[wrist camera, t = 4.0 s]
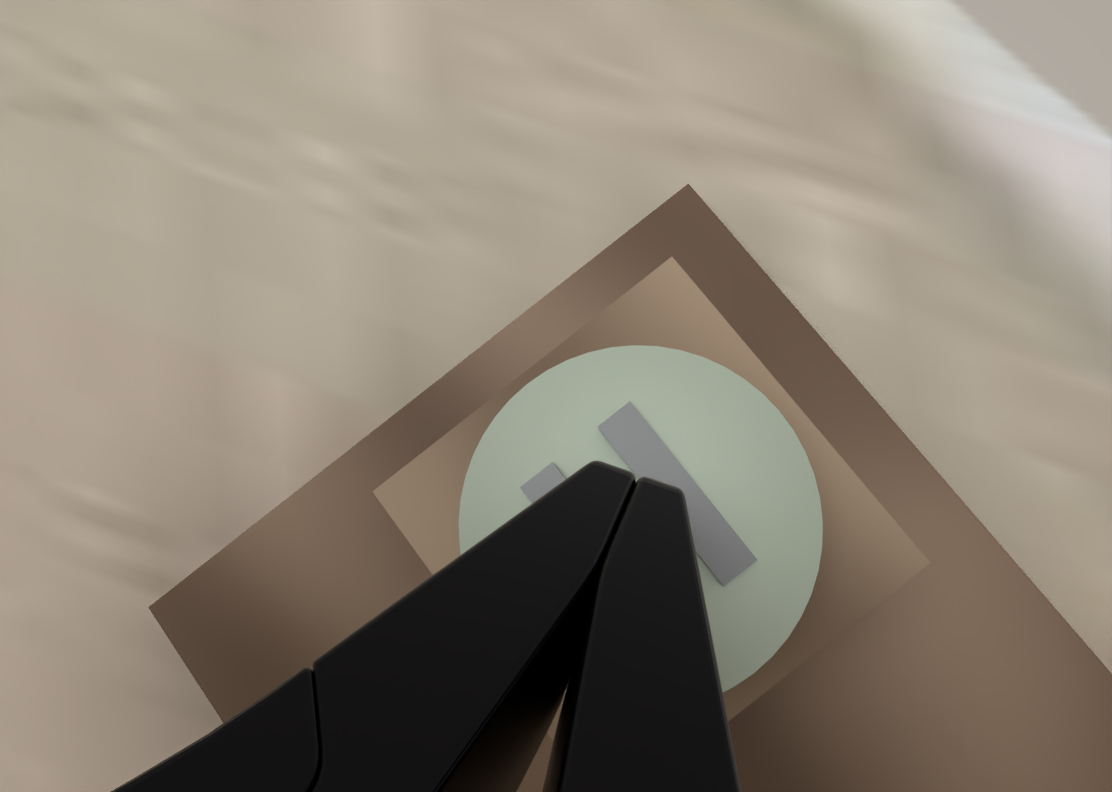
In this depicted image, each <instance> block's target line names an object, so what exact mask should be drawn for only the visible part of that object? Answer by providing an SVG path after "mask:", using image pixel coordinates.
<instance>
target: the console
mask: <svg viewBox="0 0 1112 792" xmlns="http://www.w3.org/2000/svg"><path fill="white" fill-rule="evenodd" d="M631 345H642V346H660V347H666V348H672V349H678V350H682V351H686V352H689V353H692V354H695V355H699V356H702V357H704V358H707V359H709V360H711V361H713V362H716V363H718V364H720V365H722V366H724V367H726V368H728V369H729V370H731V371H733V372H734V373H736V374H737V375H739V376H741V377H742V378H744V379H745V380H747V381H748V382H749V383H750V384H752V385H753V386H754V387H755V388H756V389H758V390H759V391H760V392H761V393H763V394H764V395H765V396H766V397H767V398H768V400H769V401H770V402H771V403H772V404H773V405H774V406H775V407H776V408H777V409H778V410H779V411H780V412H781V414H782V415H783V416H784V418H785V419H786V421H787V422H788V423H789V425H790V426H791V427H792V429H793V430H794V432H795V434H796V435H797V437H798V439H799V441H800V443H801V444H802V446H803V448H804V450H805V452H806V454H807V457H808V459H809V462H810V465H811V467H812V470H813V472H814V475H815V479H816V483H817V487H818V491H819V495H820V501H821V510H822V519H823V537H822V552H821V558H820V564H819V571H818V574H817V578H816V581H815V584H814V588H813V591H812V594H811V597H810V599H809V601H808V603H807V605H806V608H805V610H804V612H803V614H802V616H801V618H800V620H799V621H798V623H797V625H796V626H795V628H794V629H793V631H792V632H791V634H790V636H789V637H788V639H787V640H786V641H785V642H784V643H783V645H782V646H781V647H780V648H779V649H778V650H777V652H776V653H775V654H774V655H773V656H772V657H771V658H770V659H769V660H768V661H767V662H766V663H765V664H764V665H763V666H761V667H760V668H759V669H758V670H757V671H756V672H755V673H754V674H752V675H751V676H749V677H748V678H746V679H745V680H743V681H742V682H740V683H739V684H737V685H736V686H734V687H733V688H731V689H729V690H727V691H725V692H723V697H724V702H725V707H726V712H727V718H728V723H729V728H730V733H731V739H732V744H733V749H734V754H735V760H736V765H737V770H738V775H739V781H740V786H741V791H742V792H1112V674H1111V672H1110V671H1109V670H1108V669H1107V668H1106V667H1105V666H1104V664H1103V663H1102V662H1101V661H1100V660H1099V659H1098V657H1097V656H1096V655H1095V654H1094V653H1093V652H1092V650H1091V649H1090V648H1089V647H1088V646H1087V645H1086V644H1085V642H1084V641H1083V640H1082V639H1081V638H1080V637H1079V635H1078V634H1077V633H1076V632H1075V631H1074V630H1073V628H1072V627H1071V626H1070V625H1069V624H1068V623H1067V622H1066V620H1065V619H1064V618H1063V617H1062V616H1061V615H1060V613H1059V612H1058V611H1057V610H1056V609H1055V608H1054V606H1053V605H1052V604H1051V603H1050V602H1049V601H1048V600H1047V598H1046V597H1045V596H1044V595H1043V594H1042V593H1041V591H1040V590H1039V589H1038V588H1037V587H1036V586H1035V584H1034V583H1033V582H1032V581H1031V580H1030V579H1029V578H1028V576H1027V575H1026V574H1025V573H1024V572H1023V571H1022V569H1021V568H1020V567H1019V566H1018V565H1017V564H1016V562H1015V561H1014V560H1013V559H1012V558H1011V557H1010V556H1009V554H1008V553H1007V552H1006V551H1005V550H1004V549H1003V547H1002V546H1001V545H1000V544H999V543H998V542H997V540H996V539H995V538H994V537H993V536H992V535H991V534H990V532H989V531H988V530H987V529H986V528H985V527H984V525H983V524H982V523H981V522H980V521H979V520H978V518H977V517H976V516H975V515H974V514H973V513H972V512H971V510H970V509H969V508H968V507H967V506H966V505H965V503H964V502H963V501H962V500H961V499H960V498H959V496H958V495H957V494H956V493H955V492H954V491H953V490H952V488H951V487H950V486H949V485H948V484H947V483H946V481H945V480H944V479H943V478H942V477H941V476H940V474H939V473H938V472H937V471H936V470H935V469H934V468H933V466H932V465H931V464H930V463H929V462H928V461H927V459H926V458H925V457H924V456H923V455H922V454H921V452H920V451H919V450H918V449H917V448H916V447H915V446H914V444H913V443H912V442H911V441H910V440H909V439H908V437H907V436H906V435H905V434H904V433H903V432H902V430H901V429H900V428H899V427H898V426H897V425H896V424H895V422H894V421H893V420H892V419H891V418H890V417H889V415H888V414H887V413H886V412H885V411H884V410H883V408H882V407H881V406H880V405H879V404H878V403H877V402H876V400H875V399H874V398H873V397H872V396H871V395H870V393H869V392H868V391H867V390H866V389H865V388H864V386H863V385H862V384H861V383H860V382H859V381H858V380H857V378H856V377H855V376H854V375H853V374H852V373H851V371H850V370H849V369H848V368H847V367H846V366H845V364H844V363H843V362H842V361H841V360H840V359H839V358H838V356H837V355H836V354H835V353H834V352H833V351H832V349H831V348H830V347H829V346H828V345H827V344H826V342H825V341H824V340H823V339H822V338H821V337H820V336H819V334H818V333H817V332H816V331H815V330H814V329H813V327H812V326H811V325H810V324H809V323H808V322H807V320H806V319H805V318H804V317H803V316H802V315H801V314H800V312H799V311H798V310H797V309H796V308H795V307H794V305H793V304H792V303H791V302H790V301H789V300H788V298H787V297H786V296H785V295H784V294H783V293H782V292H781V290H780V289H779V288H778V287H777V286H776V285H775V283H774V282H773V281H772V280H771V279H770V278H769V276H768V275H767V274H766V273H765V272H764V271H763V270H762V268H761V267H760V266H759V265H758V264H757V263H756V261H755V260H754V259H753V258H752V257H751V256H750V254H749V253H748V252H747V251H746V250H745V249H744V248H743V246H742V245H741V244H740V243H739V242H738V241H737V239H736V238H735V237H734V236H733V235H732V234H731V232H730V231H729V230H728V229H727V228H726V227H725V226H724V224H723V223H722V222H721V221H720V220H719V219H718V217H717V216H716V215H715V214H714V213H713V212H712V210H711V209H710V208H709V207H708V206H707V205H706V204H705V202H704V201H703V200H702V199H701V198H700V197H699V195H698V194H697V193H696V192H695V191H694V190H693V188H692V187H691V186H690V185H689V184H687V185H686V186H685V187H684V188H682V189H681V190H680V191H678V192H677V193H676V194H675V195H673V196H672V197H671V198H670V199H668V200H667V201H666V202H664V203H663V204H662V205H661V206H659V207H658V208H657V209H656V210H654V211H653V212H652V213H650V214H649V215H648V216H647V217H645V218H644V219H643V220H642V221H640V222H639V223H638V224H636V225H635V226H634V227H633V228H631V229H630V230H629V231H628V232H626V233H625V234H624V235H622V236H621V237H620V238H619V239H617V240H616V241H615V242H613V243H612V244H611V245H610V246H608V247H607V248H606V249H605V250H603V251H602V252H601V253H599V254H598V255H597V256H596V257H594V258H593V259H592V260H591V261H589V262H588V263H587V264H585V265H584V266H583V267H582V268H580V269H579V270H578V271H577V272H575V273H574V274H573V275H571V276H570V277H569V278H568V279H566V280H565V281H564V282H563V283H561V284H560V285H559V286H557V287H556V288H555V289H554V290H552V291H551V292H550V293H549V294H547V295H546V296H545V297H543V298H542V299H541V300H540V301H538V302H537V303H536V304H534V305H533V306H532V307H531V308H529V309H528V310H527V311H526V312H524V313H523V314H522V315H520V316H519V317H518V318H517V319H515V320H514V321H513V322H512V323H510V324H509V325H508V326H506V327H505V328H504V329H503V330H501V331H500V332H499V333H498V334H496V335H495V336H494V337H492V338H491V339H490V340H489V341H487V342H486V343H485V344H484V345H482V346H481V347H480V348H478V349H477V350H476V351H475V352H473V353H472V354H471V355H470V356H468V357H467V358H466V359H464V360H463V361H462V362H461V363H459V364H458V365H457V366H455V367H454V368H453V369H452V370H450V371H449V372H448V373H447V374H445V375H444V376H443V377H441V378H440V379H439V380H438V381H436V382H435V383H434V384H433V385H431V386H430V387H429V388H427V389H426V390H425V391H424V392H422V393H421V394H420V395H419V396H417V397H416V398H415V399H413V400H412V401H411V402H410V403H408V404H407V405H406V406H405V407H403V408H402V409H401V410H399V411H398V412H397V413H396V414H394V415H393V416H392V417H391V418H389V419H388V420H387V421H385V422H384V423H383V424H382V425H380V426H379V427H378V428H377V429H375V430H374V431H373V432H371V433H370V434H369V435H368V436H366V437H365V438H364V439H362V440H361V441H360V442H359V443H357V444H356V445H355V446H354V447H352V448H351V449H350V450H348V451H347V452H346V453H345V454H343V455H342V456H341V457H340V458H338V459H337V460H336V461H334V462H333V463H332V464H331V465H329V466H328V467H327V468H326V469H324V470H323V471H322V472H320V473H319V474H318V475H317V476H315V477H314V478H313V479H312V480H310V481H309V482H308V483H306V484H305V485H304V486H303V487H301V488H300V489H299V490H298V491H296V492H295V493H294V494H292V495H291V496H290V497H289V498H287V499H286V500H285V501H283V502H282V503H281V504H280V505H278V506H277V507H276V508H275V509H273V510H272V511H271V512H269V513H268V514H267V515H266V516H264V517H263V518H262V519H261V520H259V521H258V522H257V523H255V524H254V525H253V526H252V527H250V528H249V529H248V530H247V531H245V532H244V533H243V534H241V535H240V536H239V537H238V538H236V539H235V540H234V541H233V542H231V543H230V544H229V545H227V546H226V547H225V548H224V549H222V550H221V551H220V552H219V553H217V554H216V555H215V556H213V557H212V558H211V559H210V560H208V561H207V562H206V563H204V564H203V565H202V566H201V567H199V568H198V569H197V570H196V571H194V572H193V573H192V574H190V575H189V576H188V577H187V578H185V579H184V580H183V581H182V582H180V583H179V584H178V585H176V586H175V587H174V588H173V589H171V590H170V591H169V592H168V593H166V594H165V595H164V596H162V597H161V598H160V599H159V600H157V601H156V602H155V603H154V604H152V605H151V606H150V607H149V609H150V611H151V612H152V614H153V615H154V617H155V618H156V620H157V621H158V623H159V624H160V626H161V627H162V629H163V630H164V632H165V634H166V635H167V637H168V638H169V640H170V641H171V643H172V644H173V646H174V647H175V649H176V650H177V652H178V654H179V655H180V657H181V658H182V660H183V661H184V663H185V664H186V666H187V667H188V669H189V670H190V672H191V673H192V675H193V677H194V678H195V680H196V681H197V683H198V684H199V686H200V687H201V689H202V690H203V692H204V693H205V695H206V697H207V698H208V700H209V701H210V703H211V704H212V706H213V707H214V709H215V710H216V712H217V713H218V715H219V716H220V718H221V720H222V721H223V723H225V722H226V721H228V720H229V719H231V718H232V717H234V716H235V715H237V714H238V713H240V712H241V711H243V710H244V709H246V708H247V707H249V706H250V705H252V704H253V703H255V702H256V701H258V700H259V699H260V698H262V697H263V696H265V695H266V694H268V693H269V692H270V691H272V690H273V689H275V688H276V687H277V686H279V685H280V684H281V683H283V682H284V681H286V680H287V679H288V678H290V677H291V676H292V675H294V674H295V673H297V672H298V671H299V670H301V669H302V668H304V667H308V668H310V669H311V670H312V663H313V661H314V660H315V659H317V658H318V657H320V656H321V655H322V654H324V653H325V652H327V651H328V650H329V649H331V648H332V647H334V646H335V645H336V644H338V643H339V642H340V641H342V640H343V639H345V638H346V637H347V636H349V635H350V634H352V633H353V632H354V631H356V630H357V629H359V628H360V627H361V626H363V625H364V624H365V623H367V622H368V621H370V620H371V619H372V618H374V617H375V616H377V615H378V614H379V613H381V612H382V611H384V610H385V609H386V608H388V607H389V606H391V605H392V604H393V603H395V602H396V601H397V600H399V599H400V598H402V597H403V596H404V595H406V594H407V593H409V592H410V591H411V590H413V589H414V588H416V587H417V586H418V585H420V584H421V583H422V582H424V581H425V580H427V579H428V578H429V577H431V576H432V575H434V574H435V573H436V572H438V571H439V570H441V569H442V568H443V567H445V566H446V565H447V564H449V563H450V562H452V561H453V560H454V559H456V558H457V557H459V556H460V555H461V552H460V543H459V511H460V500H461V495H462V490H463V485H464V480H465V477H466V474H467V471H468V468H469V465H470V462H471V459H472V456H473V454H474V452H475V450H476V448H477V446H478V444H479V442H480V440H481V438H482V436H483V434H484V433H485V431H486V430H487V428H488V427H489V425H490V424H491V422H492V421H493V419H494V418H495V416H496V415H497V414H498V413H499V412H500V410H501V409H502V408H503V407H504V406H505V405H506V403H507V402H508V401H509V400H510V399H511V398H512V397H513V396H514V395H515V394H516V393H518V392H519V391H520V390H521V389H522V388H523V387H524V386H525V385H527V384H528V383H529V382H531V381H532V380H533V379H535V378H536V377H538V376H539V375H541V374H542V373H544V372H545V371H547V370H549V369H550V368H552V367H554V366H556V365H558V364H560V363H562V362H564V361H566V360H568V359H571V358H574V357H577V356H580V355H582V354H585V353H588V352H592V351H596V350H601V349H606V348H610V347H620V346H631ZM564 697H565V694H564V696H563V699H562V701H561V704H560V706H559V708H558V710H557V713H556V715H555V717H554V719H553V721H552V723H551V725H550V727H549V729H548V731H547V733H546V735H545V737H544V739H543V741H542V743H541V745H540V747H539V749H538V751H537V753H536V755H535V757H534V759H533V761H532V763H531V765H530V766H529V768H528V770H527V772H526V774H525V776H524V778H523V780H522V782H521V784H520V786H519V788H518V790H517V792H542V790H543V786H544V781H545V777H546V772H547V768H548V763H549V759H550V754H551V750H552V745H553V741H554V736H555V732H556V728H557V724H558V720H559V716H560V712H561V708H562V704H563V701H564Z"/></svg>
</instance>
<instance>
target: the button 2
mask: <svg viewBox="0 0 1112 792" xmlns="http://www.w3.org/2000/svg"><path fill="white" fill-rule="evenodd" d="M592 461H602V462H605V463H608V464H611V465H613V466H616V467H619V468H622V469H625V470H628V471H631V472H633V474H634V475H635V477H636V482H637V480H638V479H639V478H641V477H649V478H652V479H655V480H658V481H661V482H663V483H666V484H669V485H672V486H675V487H678V488H680V489H681V490H682V491H683V493H684V495H685V498H686V503H687V508H688V513H689V519H690V524H691V529H692V534H693V540H694V545H695V550H696V555H697V561H698V566H699V571H700V576H701V581H702V587H703V592H704V597H705V602H706V608H707V613H708V618H709V623H710V629H711V634H712V639H713V644H714V650H715V655H716V660H717V665H718V671H719V676H720V681H721V686H722V692H725V691H727V690H729V689H731V688H733V687H734V686H736V685H737V684H739V683H740V682H742V681H743V680H745V679H746V678H748V677H749V676H751V675H752V674H754V673H755V672H756V671H757V670H758V669H759V668H760V667H761V666H763V665H764V664H765V663H766V662H767V661H768V660H769V659H770V658H771V657H772V656H773V655H774V654H775V653H776V652H777V650H778V649H779V648H780V647H781V646H782V645H783V643H784V642H785V641H786V640H787V639H788V637H789V636H790V634H791V632H792V631H793V629H794V628H795V626H796V625H797V623H798V621H799V620H800V618H801V616H802V614H803V612H804V610H805V608H806V605H807V603H808V601H809V599H810V597H811V594H812V591H813V588H814V584H815V581H816V578H817V574H818V571H819V564H820V558H821V552H822V537H823V519H822V510H821V501H820V495H819V491H818V487H817V483H816V479H815V475H814V472H813V470H812V467H811V465H810V462H809V459H808V457H807V454H806V452H805V450H804V448H803V446H802V444H801V443H800V441H799V439H798V437H797V435H796V434H795V432H794V430H793V429H792V427H791V426H790V425H789V423H788V422H787V421H786V419H785V418H784V416H783V415H782V414H781V412H780V411H779V410H778V409H777V408H776V407H775V406H774V405H773V404H772V403H771V402H770V401H769V400H768V398H767V397H766V396H765V395H764V394H763V393H761V392H760V391H759V390H758V389H756V388H755V387H754V386H753V385H752V384H750V383H749V382H748V381H747V380H745V379H744V378H742V377H741V376H739V375H737V374H736V373H734V372H733V371H731V370H729V369H728V368H726V367H724V366H722V365H720V364H718V363H716V362H713V361H711V360H709V359H707V358H704V357H702V356H699V355H695V354H692V353H689V352H686V351H682V350H678V349H672V348H666V347H660V346H642V345H631V346H620V347H610V348H606V349H601V350H596V351H592V352H588V353H585V354H582V355H580V356H577V357H574V358H571V359H568V360H566V361H564V362H562V363H560V364H558V365H556V366H554V367H552V368H550V369H549V370H547V371H545V372H544V373H542V374H541V375H539V376H538V377H536V378H535V379H533V380H532V381H531V382H529V383H528V384H527V385H525V386H524V387H523V388H522V389H521V390H520V391H519V392H518V393H516V394H515V395H514V396H513V397H512V398H511V399H510V400H509V401H508V402H507V403H506V405H505V406H504V407H503V408H502V409H501V410H500V412H499V413H498V414H497V415H496V416H495V418H494V419H493V421H492V422H491V424H490V425H489V427H488V428H487V430H486V431H485V433H484V434H483V436H482V438H481V440H480V442H479V444H478V446H477V448H476V450H475V452H474V454H473V456H472V459H471V462H470V465H469V468H468V471H467V474H466V477H465V480H464V485H463V490H462V495H461V500H460V511H459V543H460V552H461V554H463V553H464V552H466V551H467V550H468V549H470V548H471V547H472V546H474V545H475V544H477V543H478V542H479V541H481V540H482V539H484V538H485V537H486V536H488V535H489V534H491V533H492V532H493V531H495V530H496V529H497V528H499V527H500V526H502V525H503V524H504V523H506V522H507V521H509V520H510V519H511V518H513V517H514V516H516V515H517V514H518V513H520V512H521V511H522V510H524V509H525V508H527V507H528V506H529V505H531V504H532V503H534V502H535V501H536V500H538V499H539V498H541V497H542V496H543V495H545V494H546V493H547V492H549V491H550V490H552V489H553V488H554V487H556V486H557V485H559V484H560V483H561V482H563V481H564V480H566V479H567V478H568V477H570V476H571V475H572V474H574V473H575V472H577V471H578V470H579V469H581V468H582V467H584V466H585V465H586V464H588V463H590V462H592ZM566 690H567V689H566ZM565 693H566V691H565Z"/></svg>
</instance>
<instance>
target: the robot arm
mask: <svg viewBox="0 0 1112 792" xmlns="http://www.w3.org/2000/svg"><path fill="white" fill-rule="evenodd" d="M566 689H567V690H566ZM565 691H566V693H565ZM564 694H565V697H564V701H563V704H562V708H561V712H560V716H559V720H558V724H557V728H556V732H555V736H554V741H553V745H552V750H551V754H550V759H549V763H548V768H547V772H546V777H545V781H544V786H543V790H542V792H742V791H741V786H740V781H739V775H738V770H737V765H736V760H735V754H734V749H733V744H732V739H731V733H730V728H729V723H728V718H727V712H726V707H725V702H724V697H723V692H722V686H721V681H720V676H719V671H718V665H717V660H716V655H715V650H714V644H713V639H712V634H711V629H710V623H709V618H708V613H707V608H706V602H705V597H704V592H703V587H702V581H701V576H700V571H699V566H698V561H697V555H696V550H695V545H694V540H693V534H692V529H691V524H690V519H689V513H688V508H687V503H686V498H685V495H684V493H683V491H682V490H681V489H680V488H678V487H675V486H672V485H669V484H666V483H663V482H661V481H658V480H655V479H652V478H649V477H641V478H639V479H638V480H637V482H636V477H635V475H634V474H633V472H631V471H628V470H625V469H622V468H619V467H616V466H613V465H611V464H608V463H605V462H602V461H592V462H590V463H588V464H586V465H585V466H584V467H582V468H581V469H579V470H578V471H577V472H575V473H574V474H572V475H571V476H570V477H568V478H567V479H566V480H564V481H563V482H561V483H560V484H559V485H557V486H556V487H554V488H553V489H552V490H550V491H549V492H547V493H546V494H545V495H543V496H542V497H541V498H539V499H538V500H536V501H535V502H534V503H532V504H531V505H529V506H528V507H527V508H525V509H524V510H522V511H521V512H520V513H518V514H517V515H516V516H514V517H513V518H511V519H510V520H509V521H507V522H506V523H504V524H503V525H502V526H500V527H499V528H497V529H496V530H495V531H493V532H492V533H491V534H489V535H488V536H486V537H485V538H484V539H482V540H481V541H479V542H478V543H477V544H475V545H474V546H472V547H471V548H470V549H468V550H467V551H466V552H464V553H463V554H461V555H460V556H459V557H457V558H456V559H454V560H453V561H452V562H450V563H449V564H447V565H446V566H445V567H443V568H442V569H441V570H439V571H438V572H436V573H435V574H434V575H432V576H431V577H429V578H428V579H427V580H425V581H424V582H422V583H421V584H420V585H418V586H417V587H416V588H414V589H413V590H411V591H410V592H409V593H407V594H406V595H404V596H403V597H402V598H400V599H399V600H397V601H396V602H395V603H393V604H392V605H391V606H389V607H388V608H386V609H385V610H384V611H382V612H381V613H379V614H378V615H377V616H375V617H374V618H372V619H371V620H370V621H368V622H367V623H365V624H364V625H363V626H361V627H360V628H359V629H357V630H356V631H354V632H353V633H352V634H350V635H349V636H347V637H346V638H345V639H343V640H342V641H340V642H339V643H338V644H336V645H335V646H334V647H332V648H331V649H329V650H328V651H327V652H325V653H324V654H322V655H321V656H320V657H318V658H317V659H315V660H314V661H313V663H312V670H311V669H310V668H308V667H304V668H302V669H301V670H299V671H298V672H297V673H295V674H294V675H292V676H291V677H290V678H288V679H287V680H286V681H284V682H283V683H281V684H280V685H279V686H277V687H276V688H275V689H273V690H272V691H270V692H269V693H268V694H266V695H265V696H263V697H262V698H260V699H259V700H258V701H256V702H255V703H253V704H252V705H250V706H249V707H247V708H246V709H244V710H243V711H241V712H240V713H238V714H237V715H235V716H234V717H232V718H231V719H229V720H228V721H226V722H225V723H223V724H222V725H221V726H219V727H218V728H216V729H215V730H213V731H212V732H210V733H209V734H207V735H206V736H204V737H202V738H201V739H199V740H197V741H196V742H194V743H192V744H191V745H189V746H187V747H186V748H184V749H182V750H181V751H179V752H177V753H176V754H174V755H172V756H171V757H169V758H167V759H166V760H164V761H162V762H161V763H159V764H157V765H156V766H154V767H152V768H151V769H149V770H147V771H146V772H144V773H142V774H140V775H139V776H137V777H135V778H134V779H132V780H130V781H128V782H127V783H125V784H123V785H121V786H120V787H118V788H116V789H114V790H113V791H111V792H517V790H518V788H519V786H520V784H521V782H522V780H523V778H524V776H525V774H526V772H527V770H528V768H529V766H530V765H531V763H532V761H533V759H534V757H535V755H536V753H537V751H538V749H539V747H540V745H541V743H542V741H543V739H544V737H545V735H546V733H547V731H548V729H549V727H550V725H551V723H552V721H553V719H554V717H555V715H556V713H557V710H558V708H559V706H560V704H561V701H562V699H563V696H564Z"/></svg>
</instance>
